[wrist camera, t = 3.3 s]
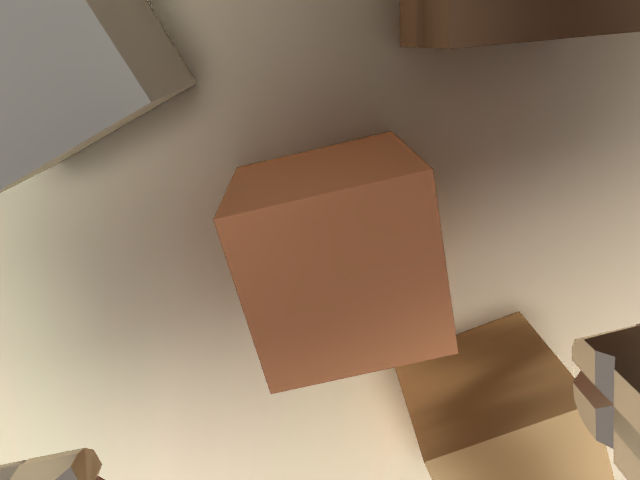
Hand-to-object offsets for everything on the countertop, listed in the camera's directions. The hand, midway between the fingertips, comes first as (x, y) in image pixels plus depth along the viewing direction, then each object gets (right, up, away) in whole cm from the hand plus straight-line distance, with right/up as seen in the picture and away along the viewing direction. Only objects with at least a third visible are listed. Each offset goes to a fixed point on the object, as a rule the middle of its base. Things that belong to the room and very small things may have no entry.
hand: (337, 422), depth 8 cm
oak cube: (+6, -3, +11) cm, 13 cm away
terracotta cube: (0, +4, +8) cm, 9 cm away
